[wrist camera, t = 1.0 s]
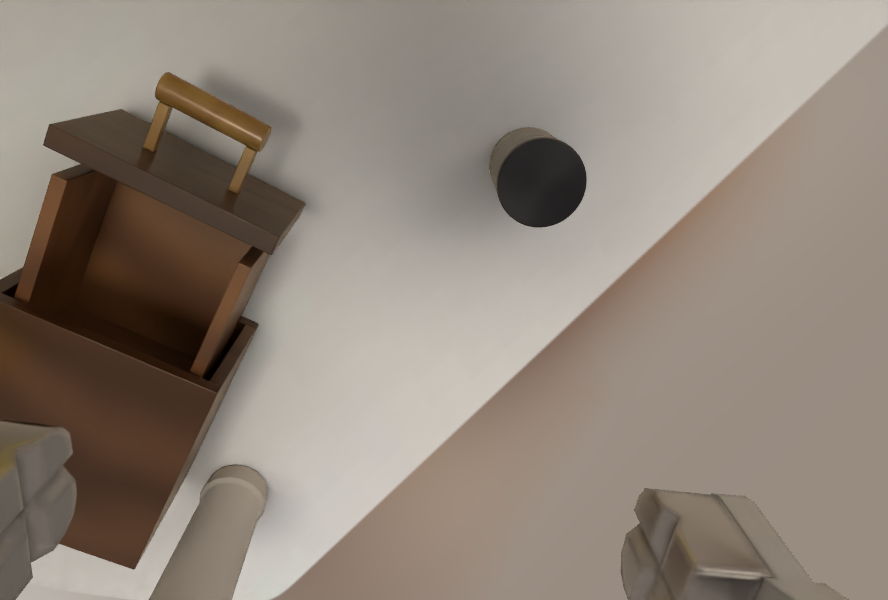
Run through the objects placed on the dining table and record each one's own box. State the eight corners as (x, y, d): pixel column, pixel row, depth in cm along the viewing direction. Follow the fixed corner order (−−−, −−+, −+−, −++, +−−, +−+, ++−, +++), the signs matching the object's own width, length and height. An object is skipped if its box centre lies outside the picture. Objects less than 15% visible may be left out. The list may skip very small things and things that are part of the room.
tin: (513, 110, 39) (527, 121, 34) (580, 149, 40) (604, 166, 35) (473, 181, 41) (480, 202, 35) (538, 217, 42) (555, 242, 36)
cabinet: (72, 239, 41) (-24, 292, 33) (259, 323, 44) (217, 393, 35) (15, 410, 46) (-81, 495, 38) (186, 476, 49) (134, 570, 41)
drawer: (143, 40, 36) (73, 39, 29) (334, 142, 38) (313, 165, 31) (57, 298, 42) (-19, 351, 35) (226, 371, 45) (188, 434, 38)
